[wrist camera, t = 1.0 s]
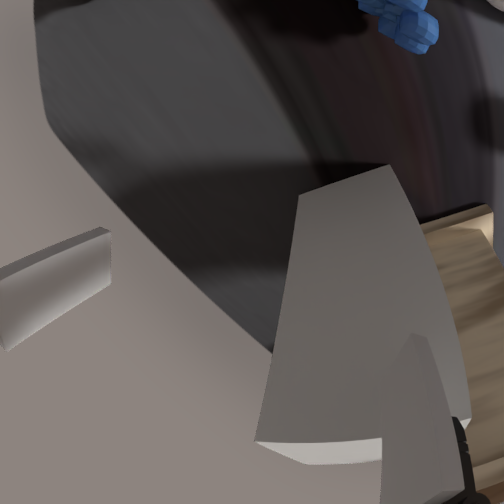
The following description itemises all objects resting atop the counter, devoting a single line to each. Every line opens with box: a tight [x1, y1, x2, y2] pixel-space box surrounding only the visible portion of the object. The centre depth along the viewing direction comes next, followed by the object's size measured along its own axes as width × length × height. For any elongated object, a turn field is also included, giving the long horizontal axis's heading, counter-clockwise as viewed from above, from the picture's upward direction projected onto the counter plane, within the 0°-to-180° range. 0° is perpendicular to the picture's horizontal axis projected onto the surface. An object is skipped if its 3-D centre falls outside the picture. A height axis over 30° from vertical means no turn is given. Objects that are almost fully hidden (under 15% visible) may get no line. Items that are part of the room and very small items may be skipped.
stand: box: [420, 204, 504, 504], centre depth 20 cm, size 10×14×32 cm
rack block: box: [254, 165, 472, 464], centre depth 22 cm, size 8×11×26 cm
